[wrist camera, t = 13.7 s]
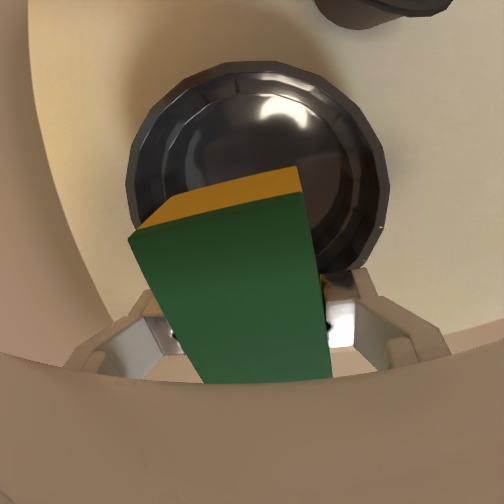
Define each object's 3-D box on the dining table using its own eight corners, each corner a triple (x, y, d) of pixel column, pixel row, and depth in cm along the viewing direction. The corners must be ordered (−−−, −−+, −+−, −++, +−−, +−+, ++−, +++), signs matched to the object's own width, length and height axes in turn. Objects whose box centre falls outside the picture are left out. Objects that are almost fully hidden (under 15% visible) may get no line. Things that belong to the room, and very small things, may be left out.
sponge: (326, 325, 12) (334, 390, 9) (228, 338, 13) (214, 400, 10) (296, 165, 9) (303, 198, 6) (171, 195, 10) (125, 239, 7)
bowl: (380, 245, 23) (400, 282, 18) (204, 286, 27) (188, 326, 22) (332, 48, 16) (348, 31, 11) (130, 120, 20) (91, 128, 15)
